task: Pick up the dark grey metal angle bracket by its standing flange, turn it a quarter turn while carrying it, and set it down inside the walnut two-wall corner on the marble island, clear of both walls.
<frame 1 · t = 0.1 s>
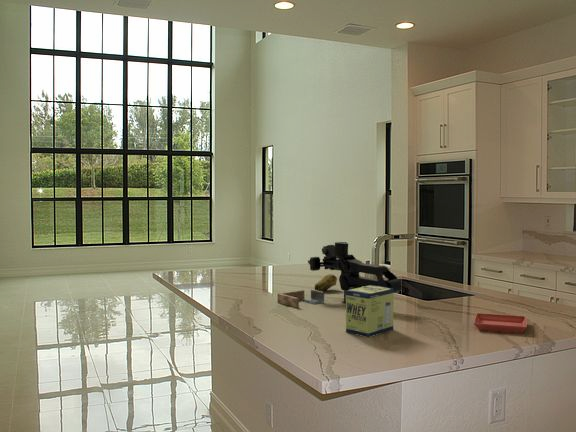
hand: (315, 260, 281), 17 cm above the worktop, tool horizontal, fingers open, 9 cm apart
potato: (325, 291, 291), on the worktop
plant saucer: (500, 328, 215), on the worktop
wooden corner frame: (300, 302, 262), on the worktop
protein box: (369, 331, 211), on the worktop
bracket: (317, 301, 265), on the worktop
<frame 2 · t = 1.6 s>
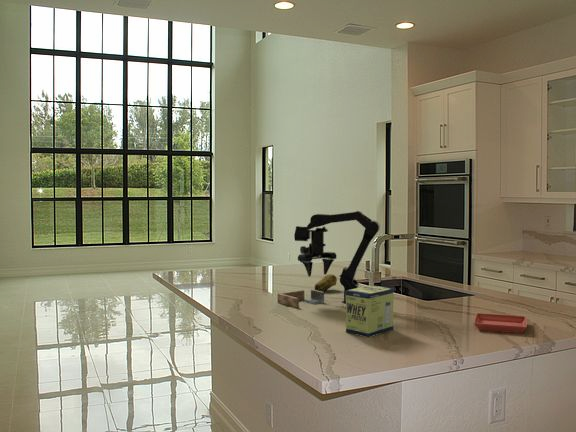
hand: (317, 275, 264), 12 cm above the worktop, tool pointing down, fingers open, 9 cm apart
nothing on the worktop moved.
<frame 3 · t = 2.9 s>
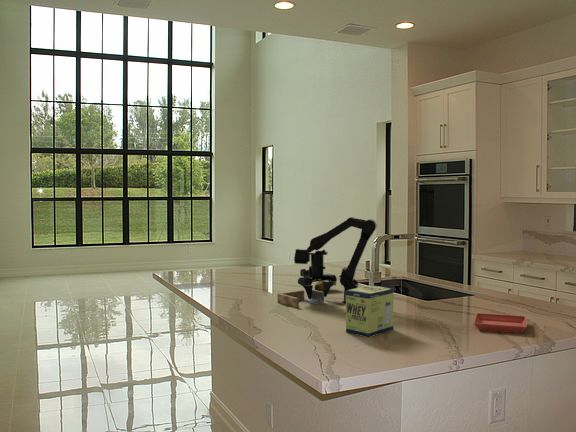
hand: (317, 298, 265), 2 cm above the worktop, tool pointing down, fingers open, 9 cm apart
nothing on the worktop moved.
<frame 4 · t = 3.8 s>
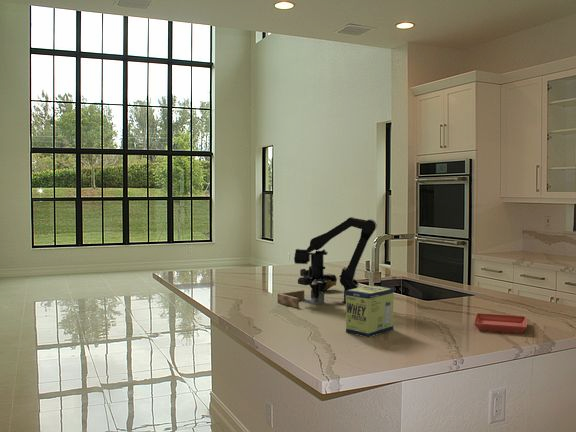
hand: (317, 298, 265), 2 cm above the worktop, tool pointing down, fingers closed on bracket
bracket: (317, 301, 265), on the worktop, touching gripper
everything else where it was.
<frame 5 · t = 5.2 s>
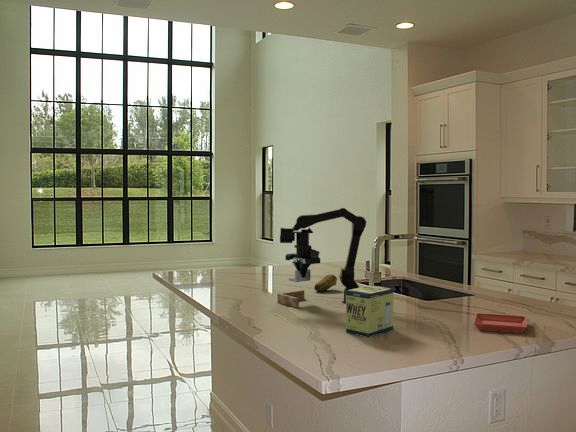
hand: (302, 277, 261), 12 cm above the worktop, tool pointing down, fingers closed on bracket
bracket: (302, 281, 261), point 10 cm above the worktop, touching gripper
everything else where it was.
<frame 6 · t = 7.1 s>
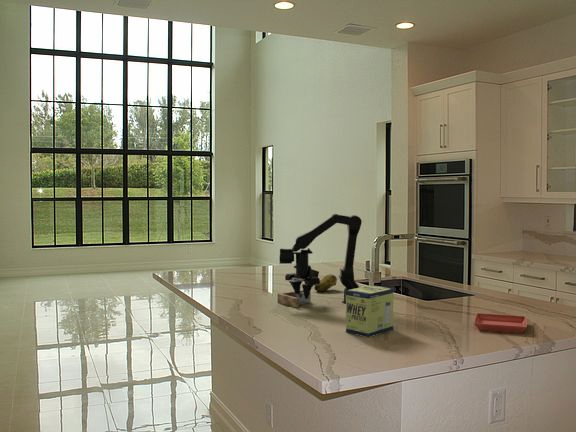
hand: (302, 297, 261), 2 cm above the worktop, tool pointing down, fingers open, 6 cm apart
bracket: (302, 303, 261), on the worktop
everything else where it was.
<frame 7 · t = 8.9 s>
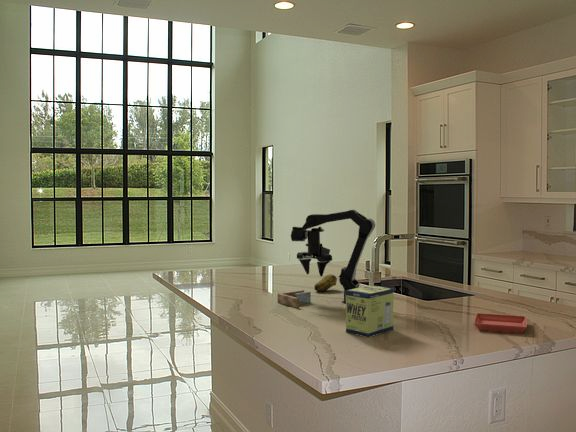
hand: (314, 275, 266), 12 cm above the worktop, tool pointing down, fingers open, 9 cm apart
nothing on the worktop moved.
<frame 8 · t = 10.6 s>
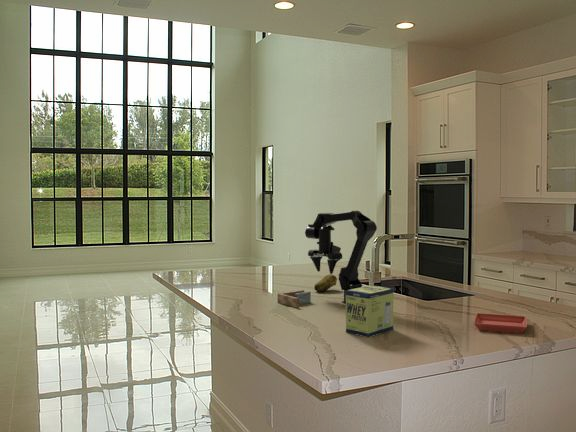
hand: (324, 272, 272), 12 cm above the worktop, tool pointing down, fingers open, 9 cm apart
nothing on the worktop moved.
at the end: bracket inside the target area (1.2 cm from its centre), on the worktop; bracket tilted 0°; bracket touching worktop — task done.
